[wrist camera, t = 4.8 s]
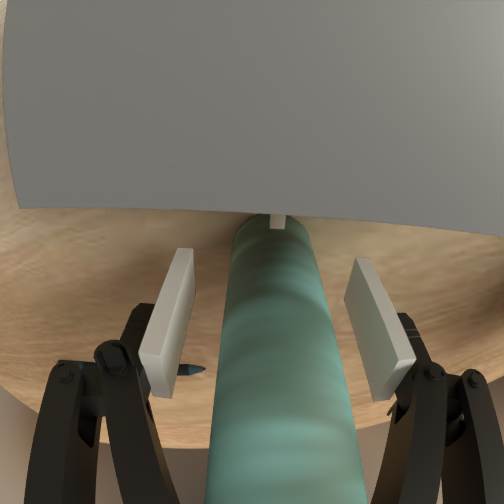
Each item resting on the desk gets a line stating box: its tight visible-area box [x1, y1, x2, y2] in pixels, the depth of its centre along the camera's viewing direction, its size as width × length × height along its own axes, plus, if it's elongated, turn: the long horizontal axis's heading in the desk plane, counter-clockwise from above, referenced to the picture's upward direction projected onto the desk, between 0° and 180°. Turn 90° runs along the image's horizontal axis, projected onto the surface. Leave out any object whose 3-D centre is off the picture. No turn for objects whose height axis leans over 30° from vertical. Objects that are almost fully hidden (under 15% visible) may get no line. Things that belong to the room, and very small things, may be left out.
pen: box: [58, 360, 206, 375], centre depth 24 cm, size 1×16×1 cm, turn 98°
